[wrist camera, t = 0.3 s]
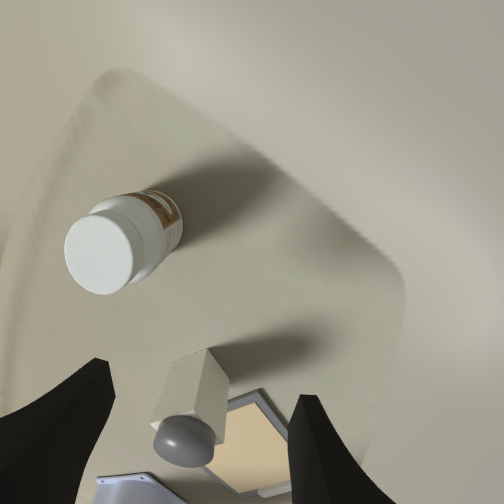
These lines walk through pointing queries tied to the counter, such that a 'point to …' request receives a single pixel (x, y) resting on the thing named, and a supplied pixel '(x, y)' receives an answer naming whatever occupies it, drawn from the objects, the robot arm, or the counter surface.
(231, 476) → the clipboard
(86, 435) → the robot arm
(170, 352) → the counter surface
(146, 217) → the pill bottle
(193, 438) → the block with domed cap
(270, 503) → the counter surface
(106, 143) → the counter surface
